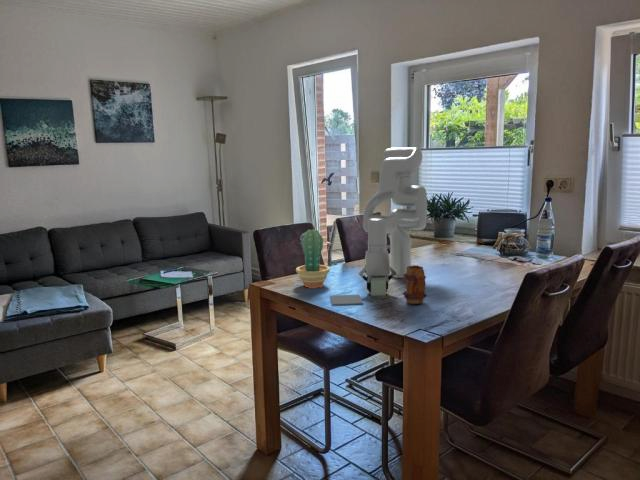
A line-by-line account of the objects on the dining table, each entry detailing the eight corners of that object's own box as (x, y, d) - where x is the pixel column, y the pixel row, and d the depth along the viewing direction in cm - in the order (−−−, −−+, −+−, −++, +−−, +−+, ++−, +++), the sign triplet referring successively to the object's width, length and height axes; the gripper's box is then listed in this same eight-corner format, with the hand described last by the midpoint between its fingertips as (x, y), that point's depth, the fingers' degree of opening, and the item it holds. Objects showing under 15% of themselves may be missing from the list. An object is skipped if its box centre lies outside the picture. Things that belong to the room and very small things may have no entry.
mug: (401, 300, 198) (401, 262, 195) (421, 299, 198) (421, 261, 196) (411, 311, 183) (411, 271, 181) (432, 310, 184) (433, 270, 181)
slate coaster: (359, 295, 205) (359, 294, 204) (363, 304, 193) (363, 303, 193) (330, 297, 204) (329, 295, 204) (332, 305, 192) (332, 304, 192)
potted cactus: (327, 280, 231) (326, 226, 227) (333, 288, 216) (332, 231, 212) (294, 282, 229) (292, 228, 225) (298, 291, 214) (296, 233, 210)
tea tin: (383, 291, 211) (383, 274, 210) (386, 295, 205) (386, 278, 204) (368, 291, 211) (368, 275, 210) (371, 295, 205) (371, 278, 204)
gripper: (396, 246, 209) (396, 288, 212) (355, 247, 208) (355, 289, 211) (400, 249, 201) (399, 292, 204) (357, 250, 201) (357, 294, 204)
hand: (377, 290), depth 208 cm, fingers closed on tea tin, 6 cm apart
